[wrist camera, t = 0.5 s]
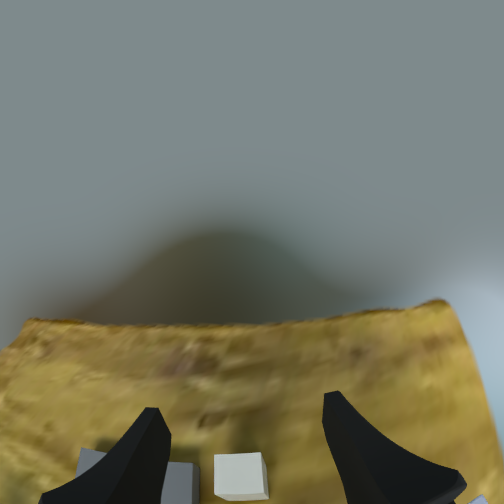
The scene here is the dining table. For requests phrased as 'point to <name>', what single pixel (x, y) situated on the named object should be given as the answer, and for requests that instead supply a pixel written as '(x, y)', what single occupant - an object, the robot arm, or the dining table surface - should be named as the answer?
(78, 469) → the socket plate
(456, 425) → the dining table surface
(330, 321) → the dining table surface
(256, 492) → the plug block
